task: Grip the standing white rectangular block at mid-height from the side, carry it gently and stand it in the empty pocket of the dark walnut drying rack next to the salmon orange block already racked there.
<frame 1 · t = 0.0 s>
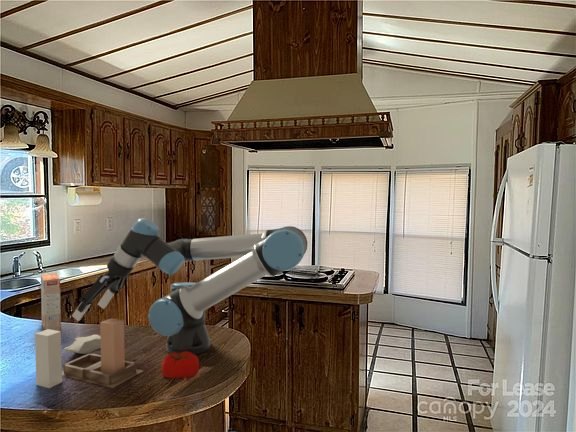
hand: (88, 312, 137), 15 cm above the table, tool tilted 35°, fingers open, 13 cm apart
white rectangular block: (49, 388, 117), on the table
rock: (89, 349, 146), on the table
rack: (100, 377, 124), on the table
salmon orange block: (113, 375, 122), point 1 cm above the table, touching rack
cracker box: (51, 328, 168), on the table
tomato: (180, 376, 125), on the table
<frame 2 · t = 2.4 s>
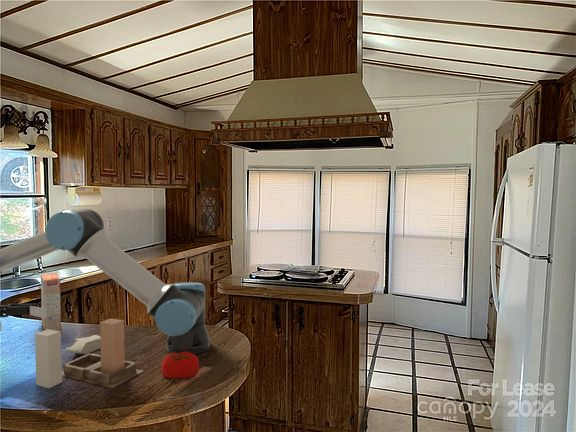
hand: (24, 319, 119), 18 cm above the table, tool horizontal, fingers open, 13 cm apart
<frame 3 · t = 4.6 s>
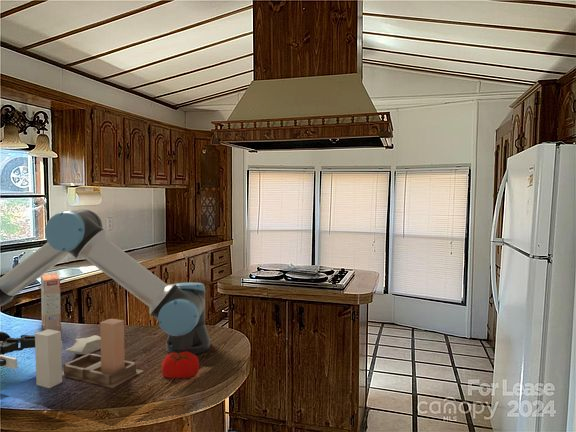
hand: (39, 354, 117), 9 cm above the table, tool horizontal, fingers open, 13 cm apart
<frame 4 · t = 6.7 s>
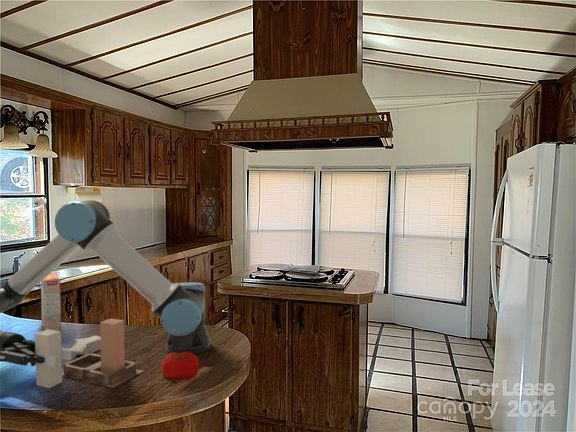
hand: (62, 358, 114), 10 cm above the table, tool horizontal, fingers closed on white rectangular block, 4 cm apart
white rectangular block: (49, 388, 117), on the table, touching gripper
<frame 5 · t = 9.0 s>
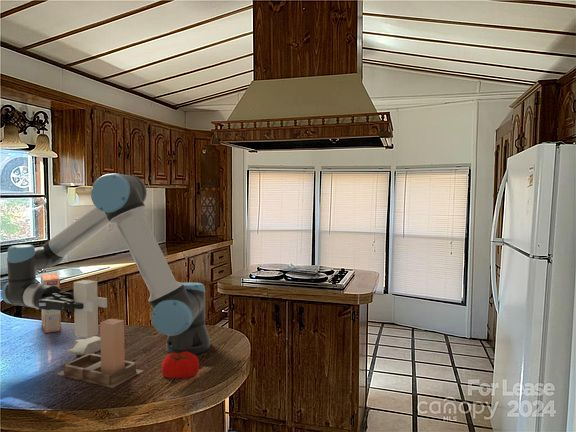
hand: (99, 304, 122), 22 cm above the table, tool horizontal, fingers closed on white rectangular block, 4 cm apart
white rectangular block: (86, 334, 125), point 12 cm above the table, touching gripper
when the fingers open (12 cm above the table, at t = 11.6 s): white rectangular block stays where it is, resting on rack.
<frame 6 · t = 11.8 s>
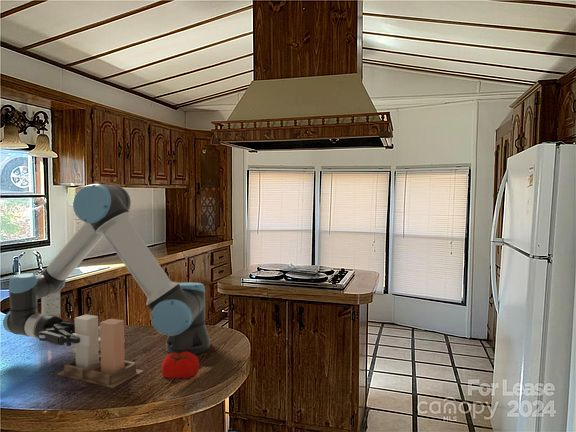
hand: (99, 337, 123), 12 cm above the table, tool horizontal, fingers open, 7 cm apart
white rectangular block: (87, 369, 126), point 1 cm above the table, touching rack
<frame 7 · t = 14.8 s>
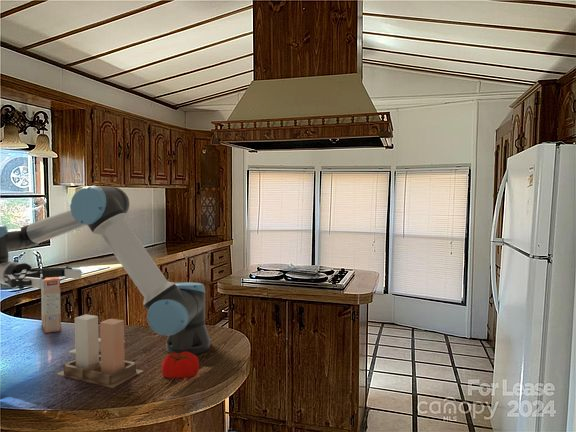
hand: (61, 278, 128), 28 cm above the table, tool horizontal, fingers open, 13 cm apart
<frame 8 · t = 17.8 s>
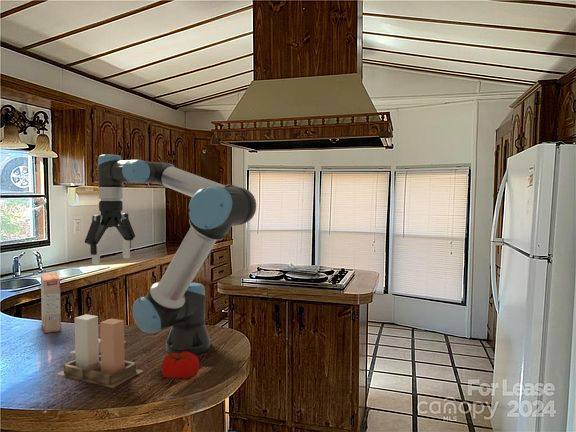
hand: (111, 261, 145), 31 cm above the table, tool pointing down, fingers open, 13 cm apart
at the end: white rectangular block 0.1 cm from the target spot on the rack, point 1.5 cm above the rack's base; white rectangular block tilted 0°; salmon orange block moved 0.0 cm from its start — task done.
